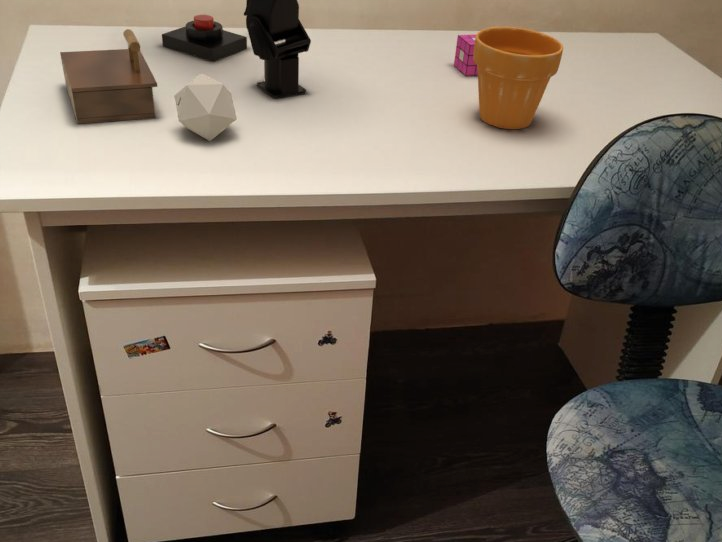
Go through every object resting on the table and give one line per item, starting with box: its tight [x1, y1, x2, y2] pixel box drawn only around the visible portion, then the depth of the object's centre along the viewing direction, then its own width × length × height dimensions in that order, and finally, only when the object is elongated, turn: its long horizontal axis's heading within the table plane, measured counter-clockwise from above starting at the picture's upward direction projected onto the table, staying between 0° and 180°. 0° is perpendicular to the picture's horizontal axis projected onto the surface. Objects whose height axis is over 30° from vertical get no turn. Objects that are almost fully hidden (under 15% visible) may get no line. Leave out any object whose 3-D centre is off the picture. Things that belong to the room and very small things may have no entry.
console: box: [161, 20, 248, 63], centre depth 150 cm, size 12×10×4 cm
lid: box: [59, 28, 158, 92], centre depth 124 cm, size 12×16×5 cm
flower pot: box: [473, 26, 564, 130], centre depth 133 cm, size 14×14×13 cm
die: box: [174, 73, 238, 142], centre depth 121 cm, size 8×9×10 cm
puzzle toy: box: [453, 34, 478, 77], centre depth 153 cm, size 6×6×6 cm
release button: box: [193, 14, 215, 29], centre depth 149 cm, size 4×4×2 cm
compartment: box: [60, 57, 156, 125], centre depth 127 cm, size 12×16×5 cm
